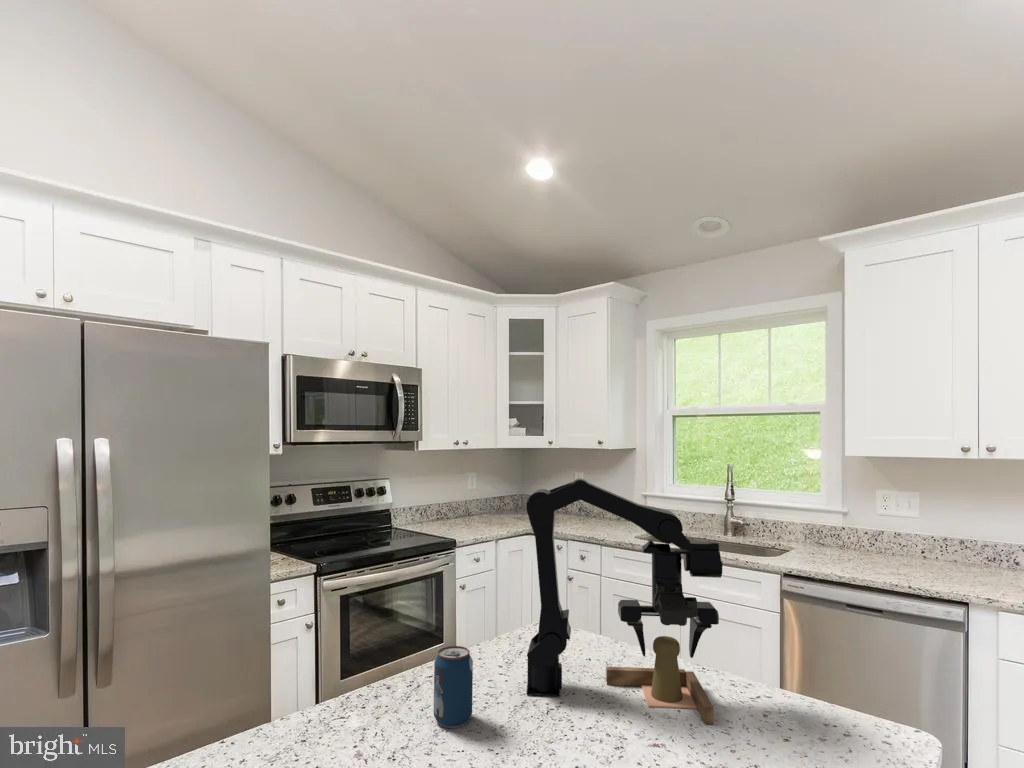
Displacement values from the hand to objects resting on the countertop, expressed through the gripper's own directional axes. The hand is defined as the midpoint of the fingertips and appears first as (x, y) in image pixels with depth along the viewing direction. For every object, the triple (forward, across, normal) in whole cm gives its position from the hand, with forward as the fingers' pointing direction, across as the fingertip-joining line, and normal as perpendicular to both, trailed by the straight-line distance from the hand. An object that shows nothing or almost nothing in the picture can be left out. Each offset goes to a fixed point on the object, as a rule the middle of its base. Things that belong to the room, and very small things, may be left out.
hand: (667, 656), depth 118 cm
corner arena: (+8, -4, -2) cm, 9 cm away
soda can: (+8, -40, -12) cm, 43 cm away
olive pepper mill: (+8, 0, 0) cm, 8 cm away
